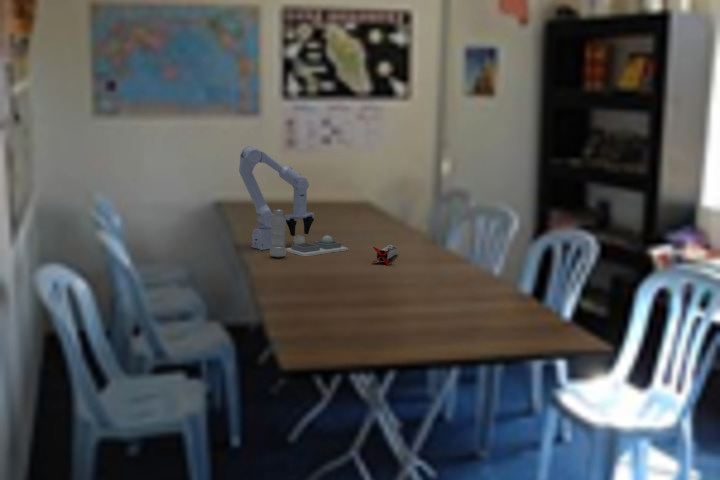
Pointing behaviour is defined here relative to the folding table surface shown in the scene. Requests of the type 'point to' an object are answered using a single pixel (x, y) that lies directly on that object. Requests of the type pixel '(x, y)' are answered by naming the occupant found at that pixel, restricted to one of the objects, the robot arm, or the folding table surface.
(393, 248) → the model rocket
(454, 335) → the folding table surface
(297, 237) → the ivory ball
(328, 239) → the sage ball
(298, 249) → the ball sorting tray
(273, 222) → the plastic bottle
